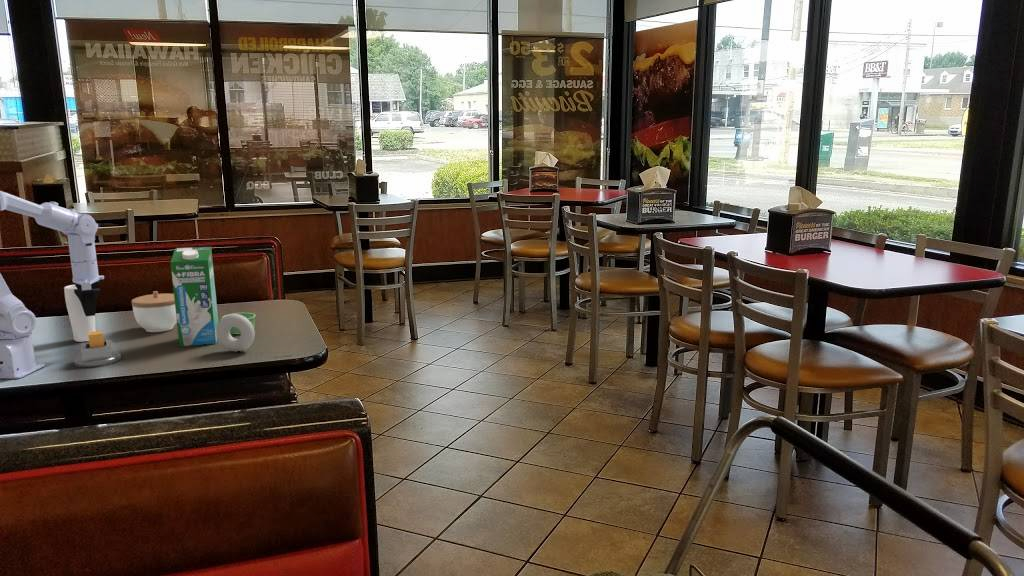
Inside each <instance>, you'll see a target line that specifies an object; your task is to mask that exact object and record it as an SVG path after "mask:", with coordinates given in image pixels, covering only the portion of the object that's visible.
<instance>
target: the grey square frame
mask: <svg viewBox="0 0 1024 576" xmlns="http://www.w3.org/2000/svg"><path fill="white" fill-rule="evenodd" d="M80 345H81V346H80V352H81V353H80V354H81V355H77V356H76V357H75V358H74V359H73V360H74V365H75V367H77V368H84V369H85V368H99V367H103V366H109V365H113V364H115V363H117V362H119V361H121V360H122V356H121V355H122V353H121V352H120V351H117V350H113V348H112V341H111V339H108V340H107V339H106V340H104V346H101V347H93V348H90V344H89V342H83V343H82V342H81V344H80Z"/></svg>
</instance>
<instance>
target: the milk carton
mask: <svg viewBox="0 0 1024 576" xmlns="http://www.w3.org/2000/svg"><path fill="white" fill-rule="evenodd" d="M212 250H213V249H212V246H201V247H200V246H198V247H195V246H194V247H175V249H174V251H173V254H172V256H171V260H170V268H171V269H170V271H171V281H172V290H173V294H174V300H175V309H176V319H177V323H176V326H177V327H176V328H177V337H178V345H179V347H191V346H190V345H193V346H204V345H203V344H206V345H215V343H216V344H217V342H218V339H217V335H216V327H217V325H218V322H219V317H218V316H219V314H218V305H217V295H216V294H217V293H216V286H215V285H216V284H215V273H214V263H213V253H212Z"/></svg>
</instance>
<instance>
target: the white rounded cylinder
mask: <svg viewBox="0 0 1024 576" xmlns="http://www.w3.org/2000/svg"><path fill="white" fill-rule="evenodd" d="M75 284H76V283H75ZM75 284H70V285H66V286H64V287H63V289H64V290H63V291H64V299H65V304H66V305H65V306H66V310H67V312H68V317H69V321H70V325H71V331H72V335H73V340H74V341H75V342H76V343H77V342H79V343H82V342H83V343H87V342H89V336H88V333H89V332H97V331H96V315H95V316H86V315H85V313H84V311H83V308H82V305H81V302H80V300H79V298H78V297H77V296H76V294H75V293H74V289H77V287H76V286H75Z"/></svg>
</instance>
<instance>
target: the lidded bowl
mask: <svg viewBox="0 0 1024 576" xmlns="http://www.w3.org/2000/svg"><path fill="white" fill-rule="evenodd" d="M131 306H132V311H133V316H134V318H135V319H134V320H136V321H135V322H137V324H138V325H139V326H140V327H141V328H143V329H144V330H145V332H147V333H162V332H167V331H171V330H173V329H174V327H175V325H177V319H176V309H175V300H174V293H159V291H157V290H155V291H154V290H153V291H152V293H151V294H145V295H142V296H137V297H135V298H133V299H131Z"/></svg>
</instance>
